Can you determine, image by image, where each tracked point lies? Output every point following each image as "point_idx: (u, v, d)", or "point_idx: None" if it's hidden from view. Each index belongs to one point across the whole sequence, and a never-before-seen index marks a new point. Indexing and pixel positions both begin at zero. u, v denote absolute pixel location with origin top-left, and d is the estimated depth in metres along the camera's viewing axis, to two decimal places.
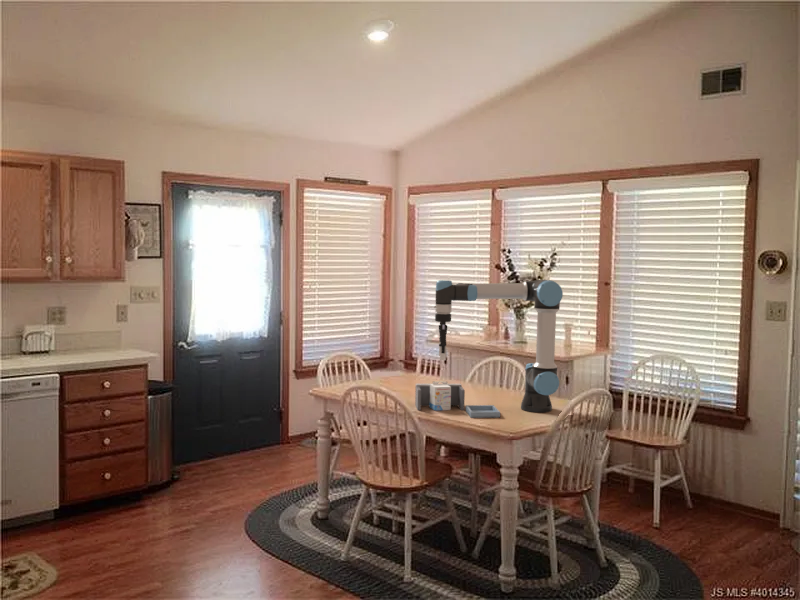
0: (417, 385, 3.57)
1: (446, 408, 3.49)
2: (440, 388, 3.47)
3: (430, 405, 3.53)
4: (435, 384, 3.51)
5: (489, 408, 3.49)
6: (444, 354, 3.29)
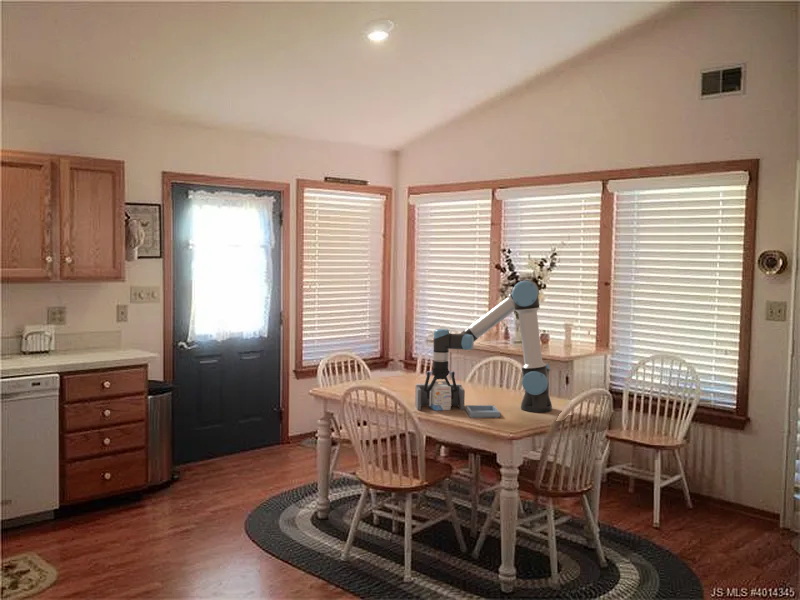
0: (417, 385, 3.57)
1: (446, 408, 3.49)
2: (440, 388, 3.47)
3: None
4: (435, 384, 3.51)
5: (489, 408, 3.49)
6: (429, 400, 3.51)
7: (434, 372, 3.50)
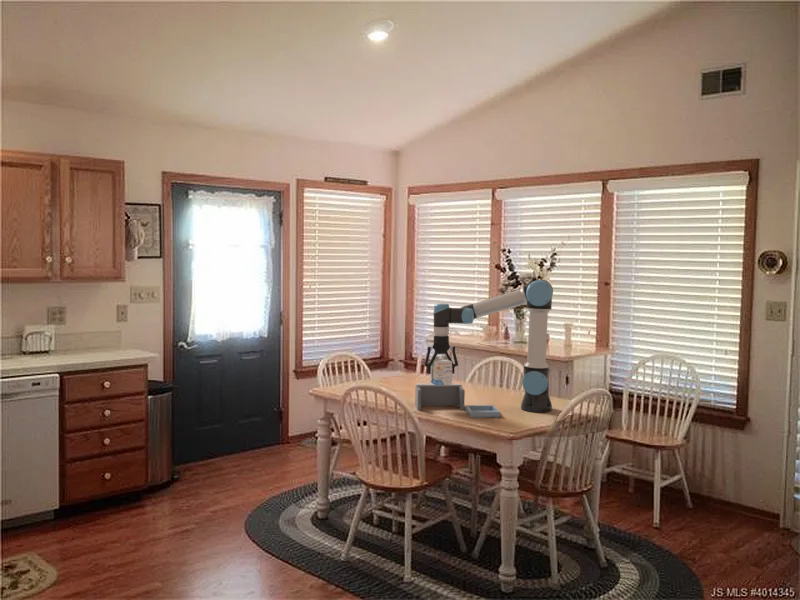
0: (417, 385, 3.57)
1: (447, 383, 3.48)
2: (441, 363, 3.46)
3: None
4: (436, 359, 3.50)
5: (489, 408, 3.49)
6: (430, 375, 3.50)
7: (435, 347, 3.49)
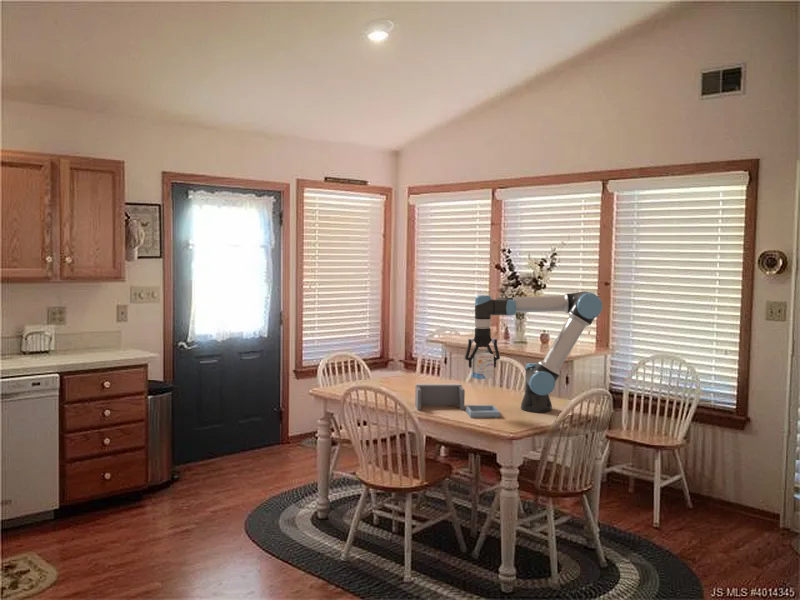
0: (417, 385, 3.57)
1: (489, 377, 3.37)
2: (482, 356, 3.36)
3: None
4: (477, 352, 3.40)
5: (489, 408, 3.49)
6: (471, 368, 3.40)
7: (476, 340, 3.38)
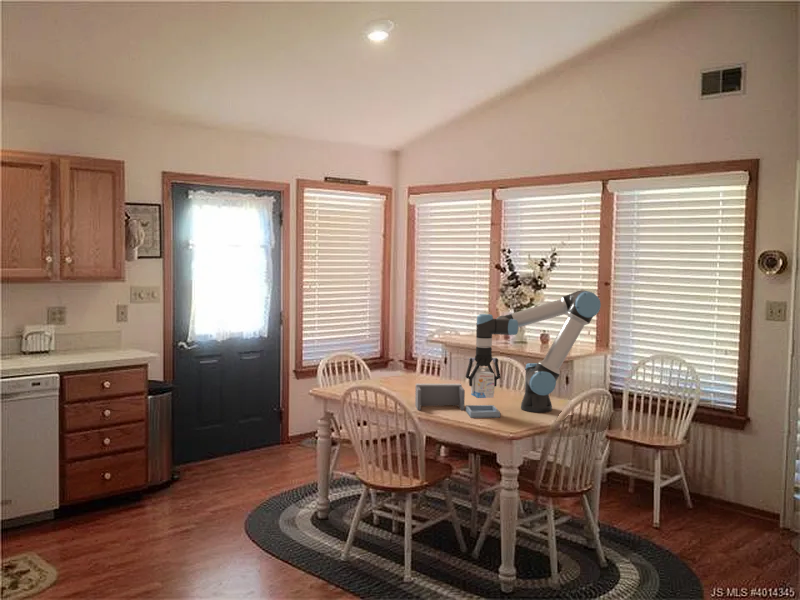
0: (417, 385, 3.57)
1: (489, 396, 3.38)
2: (483, 375, 3.36)
3: None
4: (478, 371, 3.40)
5: (489, 408, 3.49)
6: (471, 387, 3.40)
7: (477, 358, 3.39)
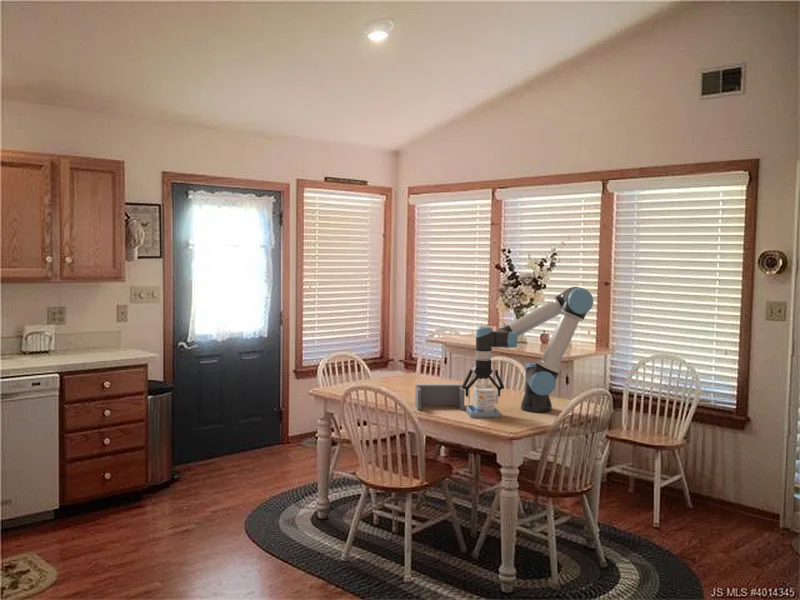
0: (417, 385, 3.57)
1: None
2: (483, 392, 3.37)
3: (473, 409, 3.43)
4: (478, 387, 3.41)
5: None
6: (468, 397, 3.40)
7: (477, 371, 3.39)
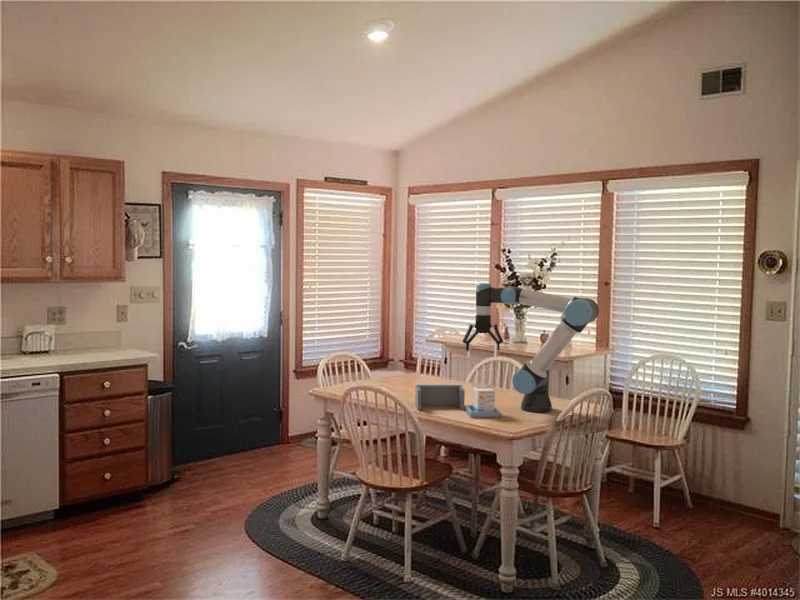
0: (417, 385, 3.57)
1: None
2: (483, 392, 3.37)
3: (473, 409, 3.43)
4: (478, 387, 3.41)
5: None
6: (468, 352, 3.51)
7: (477, 326, 3.50)
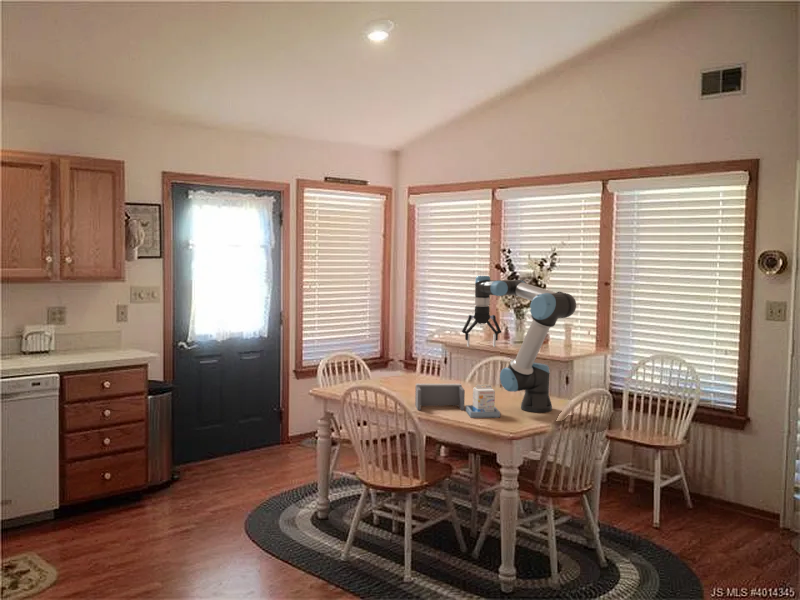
0: (417, 385, 3.57)
1: None
2: (483, 392, 3.37)
3: (473, 409, 3.43)
4: (478, 387, 3.41)
5: None
6: (467, 341, 3.67)
7: (476, 317, 3.65)
